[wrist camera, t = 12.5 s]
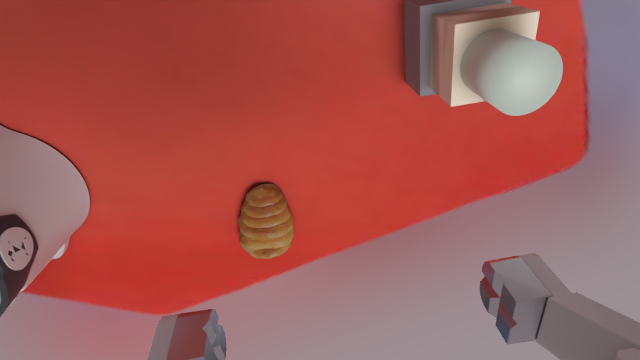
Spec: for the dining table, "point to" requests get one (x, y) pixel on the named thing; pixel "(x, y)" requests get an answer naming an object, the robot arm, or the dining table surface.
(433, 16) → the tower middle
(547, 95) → the grey round cylinder
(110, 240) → the dining table surface
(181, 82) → the dining table surface
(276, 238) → the pastry
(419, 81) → the tower base
